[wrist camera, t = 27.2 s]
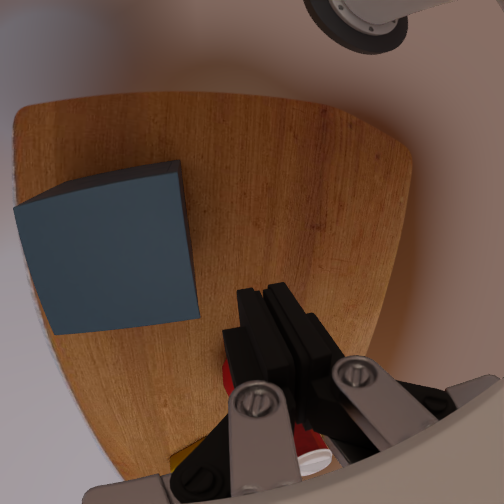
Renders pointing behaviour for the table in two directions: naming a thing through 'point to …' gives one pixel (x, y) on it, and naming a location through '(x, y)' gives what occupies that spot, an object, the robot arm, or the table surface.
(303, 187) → the table surface
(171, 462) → the element tile
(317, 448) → the coffee cup
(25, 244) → the lid
